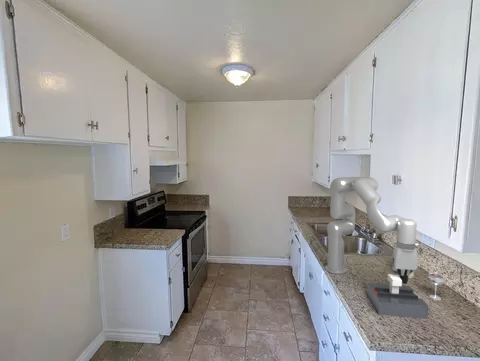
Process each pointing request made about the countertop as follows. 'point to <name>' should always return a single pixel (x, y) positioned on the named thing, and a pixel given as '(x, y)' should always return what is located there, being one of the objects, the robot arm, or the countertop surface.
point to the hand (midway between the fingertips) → (403, 282)
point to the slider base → (397, 301)
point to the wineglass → (436, 282)
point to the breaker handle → (394, 283)
